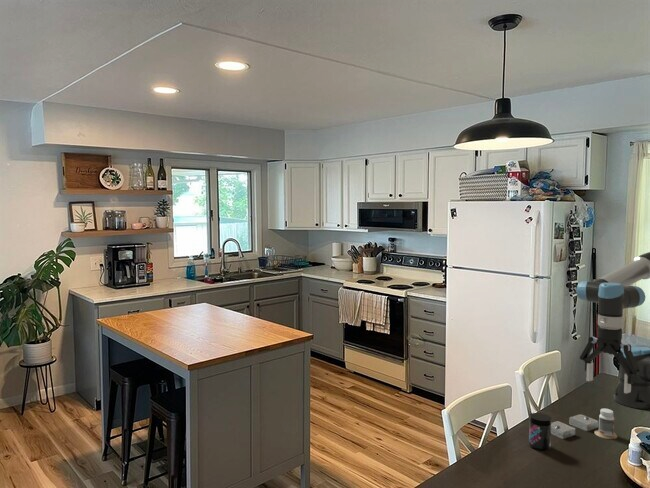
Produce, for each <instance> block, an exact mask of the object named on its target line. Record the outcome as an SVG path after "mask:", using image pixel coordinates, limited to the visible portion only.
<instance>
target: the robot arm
mask: <svg viewBox="0 0 650 488" xmlns="http://www.w3.org/2000/svg"><path fill="white" fill-rule="evenodd" d="M648 279H650V251H648V252H645V253H643V254H640V255H638V256H636V257H633V259H631V260H630V262H629V263H627V264H626V265H623V266H622V267H620V268H617V269H616V270H614V271H611V272H609V273H608V274H605V275H604V276H603V275H602V277H599V278H597V279H595V280H593V281H589V280H587V281H586V280H582V281H580V282H578V284H577V286H576V289H575V290H576V296H577V298H578V299H579V300H581V301H585V302H589V303H590V302H591V303H595V304H597V305H598V306H597V307H598V308H597V310H598V312H597V325H598V326H597V331H596V332H597V333H596V334H597V337H596V336H589V337H588V340H587V341H588V342H587V344H586V345H585V347H584V349H583V351H582V353H581V354H580V356H579V359H580V360H582V361H583V362H584V371H585V372H586V378H585V379H586V382H592V381H594V362H593V360H594V359H596V358H597V357H598V356H599V355H600V354H601V353H603V354H608V355H613V356H614V358H616V359H617V361H618V362H619V373H618V375H619V376H618V377H619V378H618V383H617V386H616V387H615V390H614V393H613V401H615V402H616V403H618V404H620V405H622V406H626V407H628V408H629V407H630V408H634V409H640V410H642V409H643V410H650V347H647V346H632V345H631V344H629V343H627V344H623V343H622V339H623V329H622V328H623V321H624V320H623V319H624V318H623V317H624V316H623V315H624V314H623V312H624V309H630V308H636V307H639V306H642V305H643V304H644V302H646V293H645V291H644V290H643V289H642V288H641V287H639V286H636V285H634V284H635V283H637V282H639V281H641V280H648ZM595 344H597V345H598V346H597V347H596V348H595V349H594V350H593V348H594V347H595ZM592 350H593V351H592ZM591 352H592V353H591Z"/></svg>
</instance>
